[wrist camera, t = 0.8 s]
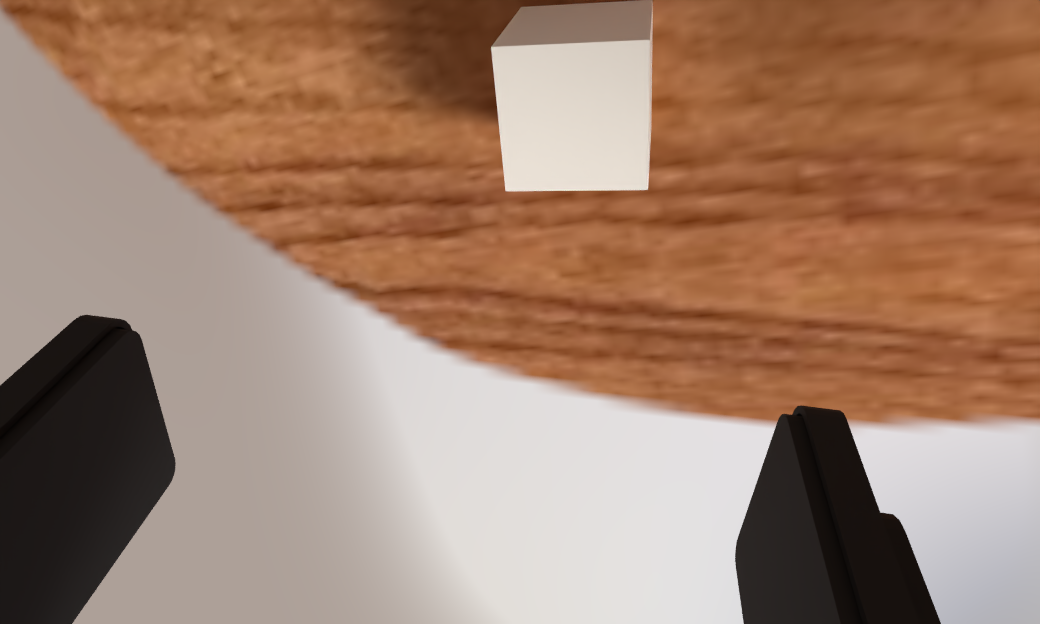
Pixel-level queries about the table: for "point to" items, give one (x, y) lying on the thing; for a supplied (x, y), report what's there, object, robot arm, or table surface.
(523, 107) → the white block
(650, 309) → the table surface
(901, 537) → the robot arm
